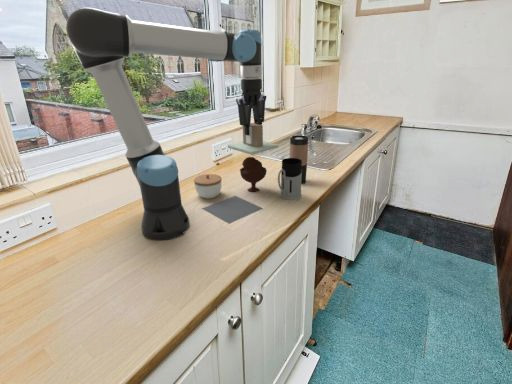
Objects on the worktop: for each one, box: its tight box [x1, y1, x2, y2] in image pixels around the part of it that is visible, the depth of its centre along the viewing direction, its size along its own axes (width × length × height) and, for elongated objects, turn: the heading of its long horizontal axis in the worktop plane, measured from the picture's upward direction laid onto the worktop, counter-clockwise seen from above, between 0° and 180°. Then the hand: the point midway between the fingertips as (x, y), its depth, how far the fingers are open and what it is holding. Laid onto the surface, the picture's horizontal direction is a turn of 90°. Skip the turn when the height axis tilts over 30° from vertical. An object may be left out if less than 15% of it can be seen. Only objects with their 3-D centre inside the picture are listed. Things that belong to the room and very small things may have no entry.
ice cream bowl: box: [239, 156, 267, 194], centre depth 128 cm, size 11×11×15 cm
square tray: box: [201, 195, 264, 224], centre depth 115 cm, size 16×16×1 cm
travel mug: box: [289, 134, 309, 185], centre depth 136 cm, size 8×8×20 cm
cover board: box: [227, 122, 279, 156], centre depth 121 cm, size 14×14×9 cm
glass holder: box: [277, 157, 303, 202], centre depth 120 cm, size 9×14×15 cm, turn 146°
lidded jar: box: [193, 173, 222, 200], centre depth 125 cm, size 11×11×9 cm
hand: (252, 142), depth 122 cm, fingers closed on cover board, 3 cm apart
